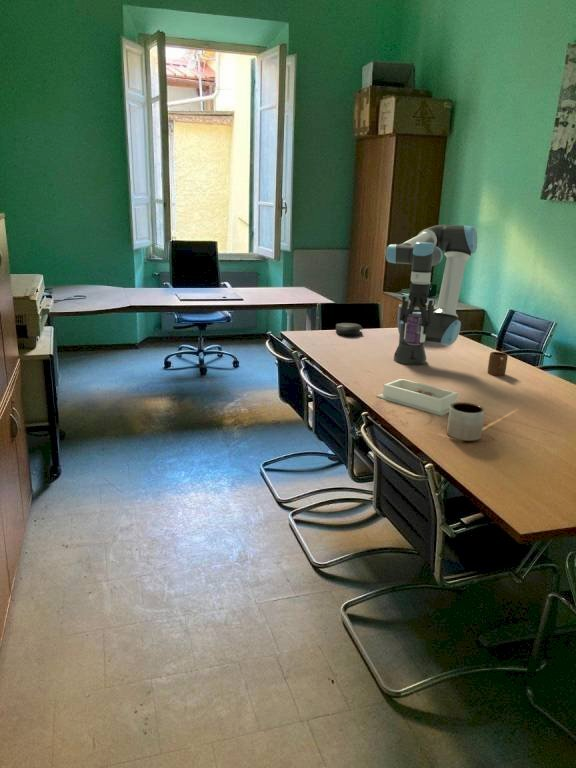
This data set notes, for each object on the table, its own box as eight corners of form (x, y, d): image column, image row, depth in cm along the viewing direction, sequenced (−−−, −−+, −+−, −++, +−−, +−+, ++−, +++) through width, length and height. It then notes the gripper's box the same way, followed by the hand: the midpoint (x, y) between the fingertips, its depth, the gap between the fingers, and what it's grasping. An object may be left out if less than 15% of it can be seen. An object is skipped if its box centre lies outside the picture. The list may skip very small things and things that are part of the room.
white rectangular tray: (376, 397, 221) (377, 384, 219) (399, 388, 232) (400, 376, 231) (441, 416, 203) (443, 402, 201) (463, 406, 214) (464, 393, 212)
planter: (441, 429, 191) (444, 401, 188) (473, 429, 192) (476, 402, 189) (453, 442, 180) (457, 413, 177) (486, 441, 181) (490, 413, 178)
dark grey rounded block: (336, 340, 315) (336, 326, 313) (334, 333, 333) (335, 320, 330) (362, 340, 315) (363, 327, 313) (359, 334, 332) (360, 321, 330)
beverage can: (423, 343, 234) (426, 313, 231) (421, 346, 228) (424, 316, 224) (406, 341, 236) (408, 312, 233) (403, 344, 230) (406, 315, 226)
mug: (509, 379, 250) (513, 358, 247) (492, 378, 251) (495, 357, 248) (502, 372, 262) (505, 352, 259) (485, 371, 262) (488, 351, 259)
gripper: (393, 280, 228) (388, 337, 235) (437, 286, 216) (431, 346, 222) (403, 279, 234) (398, 335, 240) (447, 285, 221) (440, 343, 228)
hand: (414, 340), depth 231 cm, fingers closed on beverage can, 7 cm apart
